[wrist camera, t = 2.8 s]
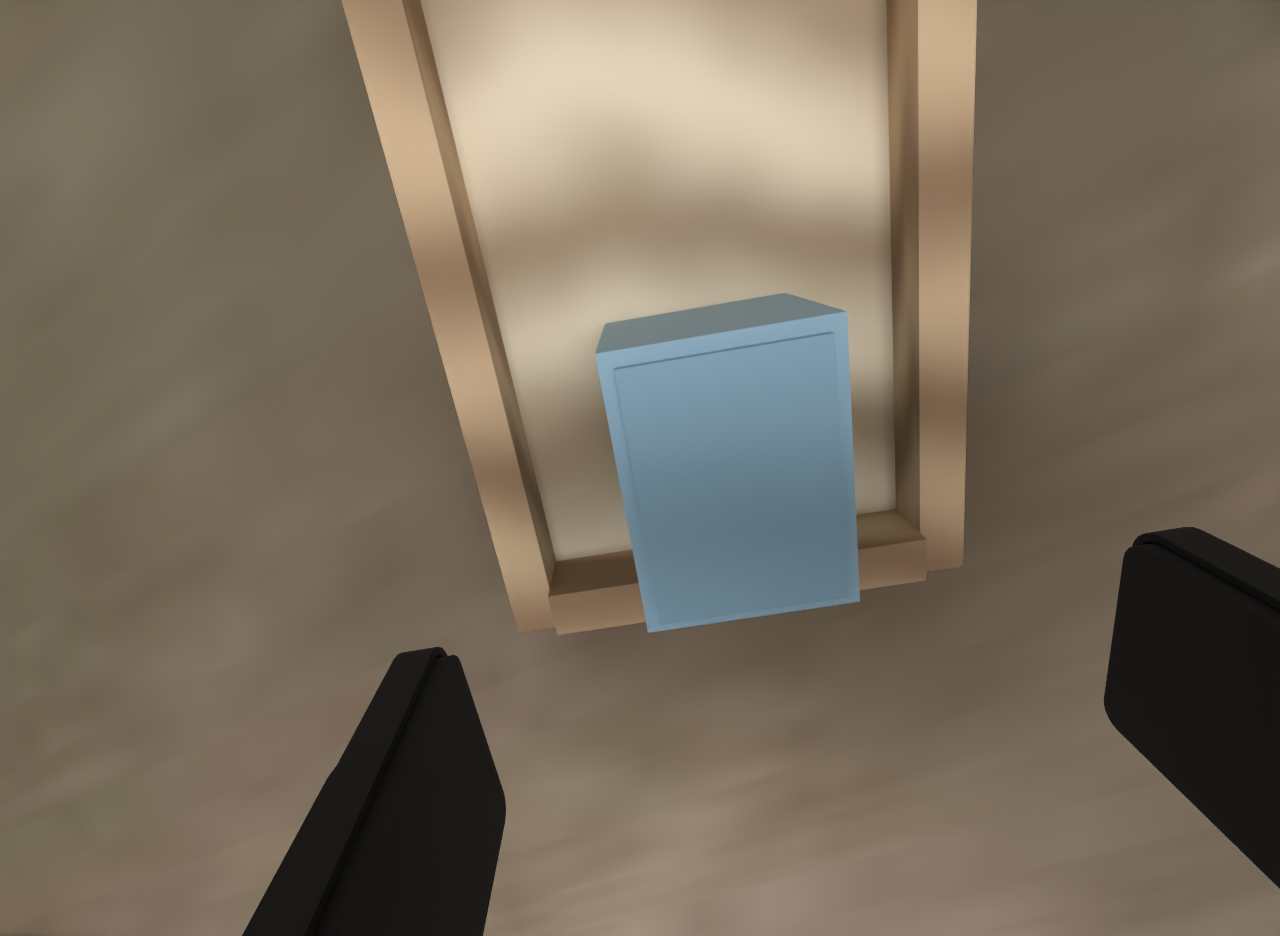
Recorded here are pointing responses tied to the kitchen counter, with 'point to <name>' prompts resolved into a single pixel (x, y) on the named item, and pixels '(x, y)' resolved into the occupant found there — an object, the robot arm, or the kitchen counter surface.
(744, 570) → the light blue block
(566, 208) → the tray
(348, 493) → the kitchen counter surface
